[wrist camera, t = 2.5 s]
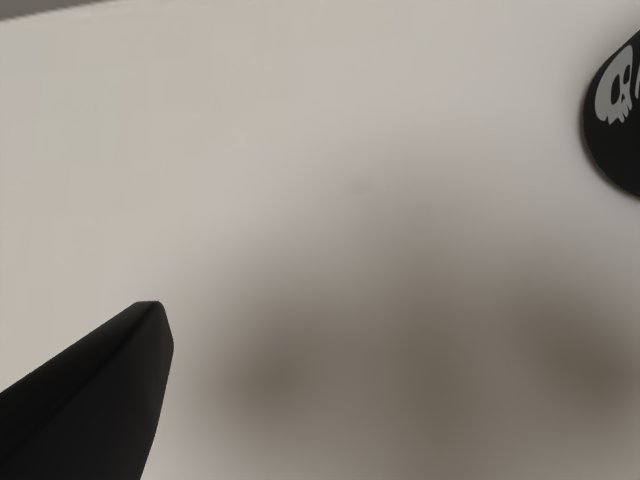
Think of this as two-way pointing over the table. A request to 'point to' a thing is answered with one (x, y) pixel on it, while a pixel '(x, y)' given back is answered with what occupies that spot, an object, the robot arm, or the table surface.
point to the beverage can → (616, 116)
